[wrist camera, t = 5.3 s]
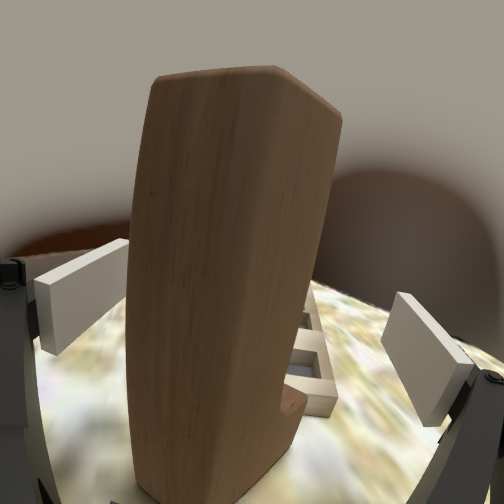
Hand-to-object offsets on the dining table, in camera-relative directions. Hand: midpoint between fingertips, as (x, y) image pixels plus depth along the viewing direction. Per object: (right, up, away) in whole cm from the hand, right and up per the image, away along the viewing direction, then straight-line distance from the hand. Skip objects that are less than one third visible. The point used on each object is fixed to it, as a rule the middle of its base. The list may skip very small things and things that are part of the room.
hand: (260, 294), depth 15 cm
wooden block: (-2, -10, 0) cm, 10 cm away
